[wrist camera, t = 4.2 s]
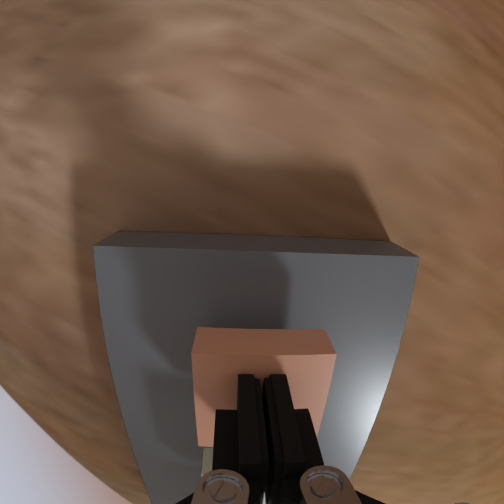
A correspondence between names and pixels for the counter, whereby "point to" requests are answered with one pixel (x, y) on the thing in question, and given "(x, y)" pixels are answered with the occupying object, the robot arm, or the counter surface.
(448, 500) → the counter surface
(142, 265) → the keypad
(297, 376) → the terracotta key
